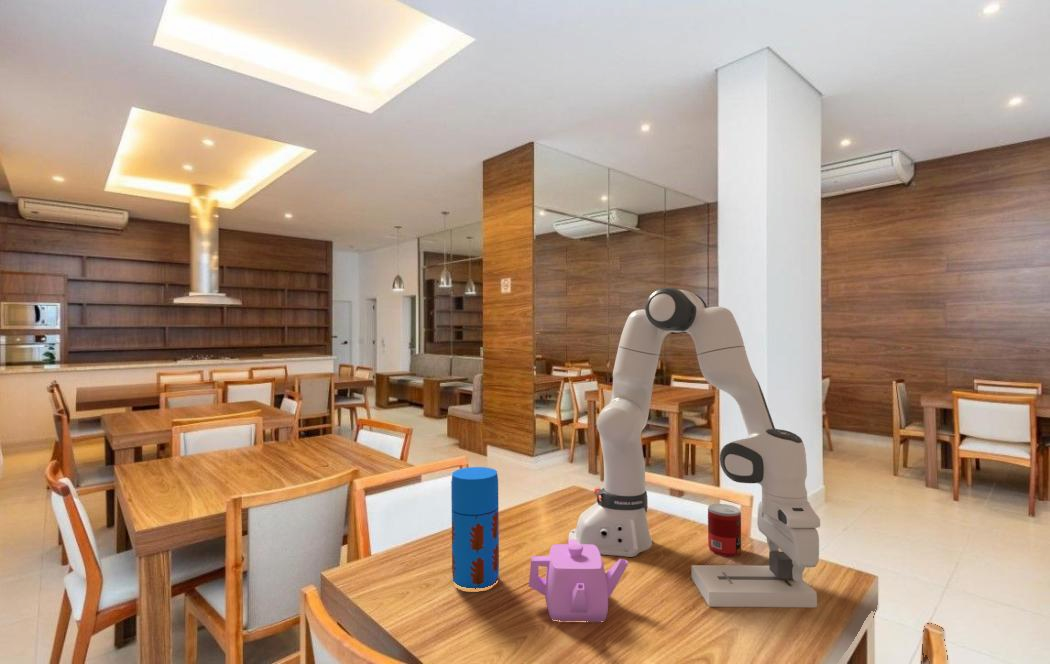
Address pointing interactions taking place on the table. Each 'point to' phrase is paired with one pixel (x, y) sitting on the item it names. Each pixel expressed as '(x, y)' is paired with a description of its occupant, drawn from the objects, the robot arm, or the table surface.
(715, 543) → the canned food
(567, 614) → the teakettle
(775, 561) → the block
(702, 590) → the slider panel
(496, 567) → the thermos
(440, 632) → the table surface
